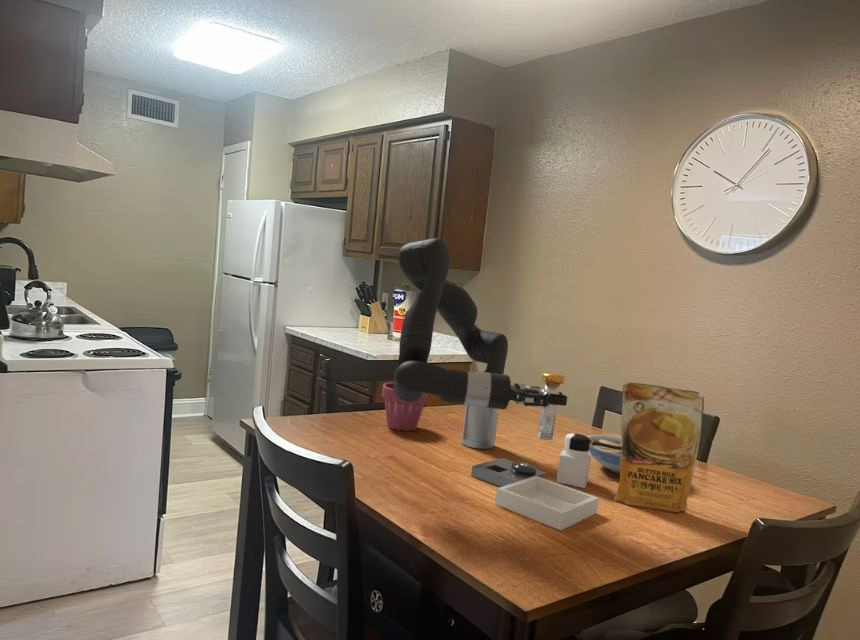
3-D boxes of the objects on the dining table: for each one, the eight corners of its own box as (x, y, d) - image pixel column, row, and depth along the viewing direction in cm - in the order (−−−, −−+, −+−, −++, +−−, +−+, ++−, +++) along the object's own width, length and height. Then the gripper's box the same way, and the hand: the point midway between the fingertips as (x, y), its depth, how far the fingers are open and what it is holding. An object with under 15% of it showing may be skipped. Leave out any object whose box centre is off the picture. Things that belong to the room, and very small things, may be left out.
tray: (533, 490, 145) (535, 475, 144) (596, 513, 134) (598, 497, 134) (494, 504, 133) (496, 488, 132) (560, 530, 122) (562, 513, 122)
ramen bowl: (674, 472, 174) (678, 444, 173) (669, 495, 153) (673, 463, 153) (585, 453, 184) (589, 426, 184) (569, 471, 163) (573, 441, 163)
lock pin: (541, 434, 137) (550, 372, 137) (559, 439, 134) (568, 376, 133) (530, 436, 134) (539, 373, 133) (548, 441, 131) (557, 377, 130)
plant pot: (369, 424, 188) (373, 383, 187) (397, 419, 199) (401, 380, 198) (406, 436, 180) (411, 393, 179) (433, 429, 191) (438, 389, 190)
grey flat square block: (501, 467, 160) (503, 452, 159) (544, 482, 151) (546, 466, 151) (471, 475, 150) (473, 459, 150) (515, 492, 141) (518, 475, 141)
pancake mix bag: (605, 493, 149) (621, 379, 147) (687, 506, 146) (704, 390, 144) (609, 503, 142) (626, 383, 140) (695, 517, 139) (713, 395, 137)
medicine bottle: (587, 480, 157) (593, 435, 156) (585, 489, 150) (591, 441, 149) (559, 475, 159) (565, 429, 158) (556, 482, 152) (562, 435, 152)
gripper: (493, 378, 125) (575, 387, 127) (483, 367, 139) (557, 376, 141) (488, 414, 126) (570, 423, 127) (479, 400, 140) (553, 408, 141)
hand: (563, 398), depth 134 cm, fingers closed on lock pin, 3 cm apart
